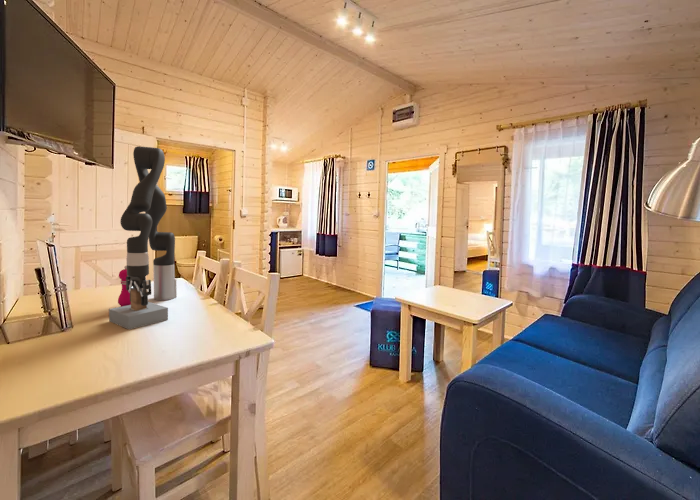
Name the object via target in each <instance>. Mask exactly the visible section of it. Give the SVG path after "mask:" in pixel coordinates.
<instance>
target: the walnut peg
mask: <svg viewBox="0 0 700 500" xmlns="http://www.w3.org/2000/svg"><path fill="white" fill-rule="evenodd" d="M143 309H147V305H145V306H142V305H141V294H140V292H138V290H137V289H136V288H134V289H131V310H134V311H139V310H143Z"/></svg>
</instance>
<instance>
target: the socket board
mask: <svg viewBox="0 0 700 500" xmlns="http://www.w3.org/2000/svg"><path fill="white" fill-rule="evenodd" d="M108 316H109V318H108V319H109V323H113V324H115V325H117V326H120V327H122V328H125V329H127V330H132V329H136V328H141V327H145V326H148V325H152V324H157V323H160V322H164V321H168V320H169V308H168V307H166V306H163V305H160V304H157V303H153V302H151V301H148V305H147V309H143V310H139V311H134V310H131V305H127V306H122V307H120V306H118V307H113V308H109V309H108Z"/></svg>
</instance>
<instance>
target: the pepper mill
mask: <svg viewBox="0 0 700 500" xmlns="http://www.w3.org/2000/svg"><path fill="white" fill-rule="evenodd" d="M126 276H128V275H127V265H125V266H124V269H121V270H120V271H119V272H118V278H119V279H120V281H119V282H120V283H119V284H120V285H121V291H120V293H119V295H118V298H117V304H118V305H119V307H122V306H127V305H131V302H130V293H129V291H128V290H126Z"/></svg>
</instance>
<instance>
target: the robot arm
mask: <svg viewBox="0 0 700 500" xmlns="http://www.w3.org/2000/svg"><path fill="white" fill-rule="evenodd" d="M132 155H133V162H134V165H135V169H136V174H137V177H138V180H139V182H138V183H137V184H136V185H135V187H134V188H133V191H132V194H131V198H130V199H131V200H130V202H129V204H128V206H127V207H126V208H125V210H124V212H123V213H122V215H121V217H120V222H119V223H120V226H121V228H122V229H123V230H124V231H128V232H140V233H139V235H137V236H131V237H128V238H127V240H126V266H127V275H128V276H126V290H128V291H129V293H130V302H131V289H134V288H136V289H137V290H138V292H140V294H141V305H142V306H145V305H148V302H149V297H148V296H151V295H152V281H151V279H146V276H148V275H149V274H150V260H149V259H150V257H149V256H150V255H149V251H148V250H149V248H148V247H150V249H151V250H152V251H156V252H157V251H158V252H159V251H161V252H165V251H166V253H165V254H164V255H162V256H158V257H156V258H154V259H153V260H152V261H153V262H152V263H153V266H152V267H153V299H154V300H157V301H168V300H174V299H175V298H177V295H178V293H177V278H175V276H176V275H175V248H176V237H175V234H174V233H173V232H167V231H158V230H157V228H158V225H159V223H160V221H161V220H162V218H163V217H164V216H165V214H166V212H167V208H168V207H167V206H168V205H167V199H166V195H165V193H164V192H163V190H162V189H161V188H160V186H158V182H159V180H160V178H161V175H162V172H163V170H164V167H165V162H166V159H165V153H164V151H163V150H162V149H161V148H159V147H151V146H135V147H134V148H133V153H132ZM148 170H150V171H148Z"/></svg>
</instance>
